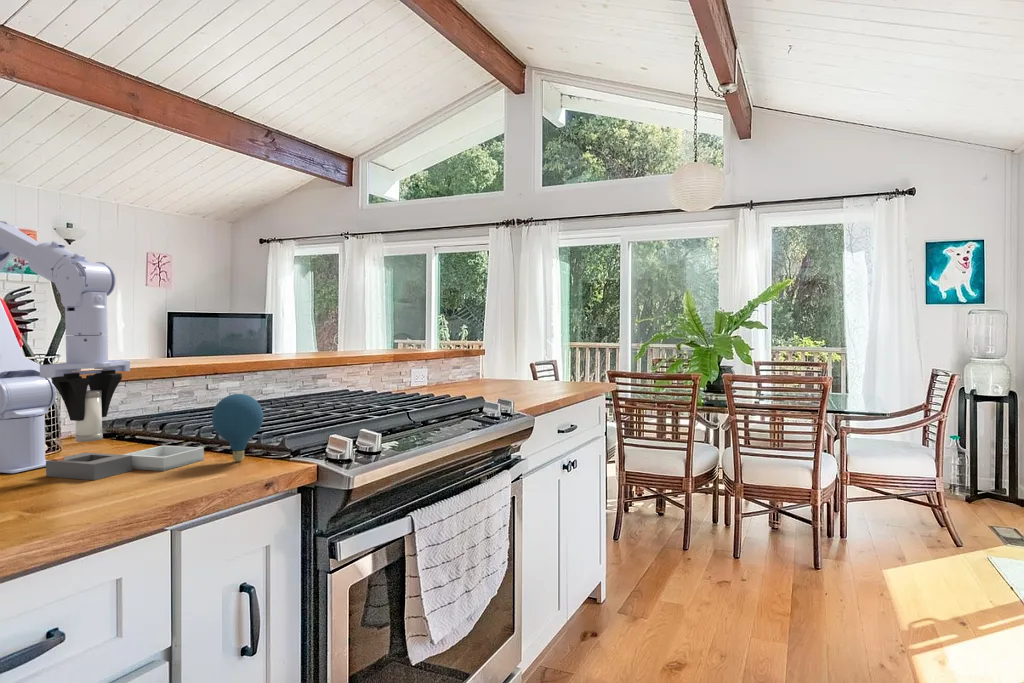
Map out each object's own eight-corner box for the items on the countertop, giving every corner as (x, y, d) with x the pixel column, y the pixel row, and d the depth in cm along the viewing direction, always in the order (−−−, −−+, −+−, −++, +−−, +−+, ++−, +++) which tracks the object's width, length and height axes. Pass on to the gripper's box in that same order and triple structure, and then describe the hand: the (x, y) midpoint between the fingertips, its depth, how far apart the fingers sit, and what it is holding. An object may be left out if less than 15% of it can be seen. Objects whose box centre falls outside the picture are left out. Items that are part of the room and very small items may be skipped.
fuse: (69, 441, 104) (68, 391, 104) (90, 437, 108) (89, 389, 107) (87, 442, 103) (86, 392, 103) (108, 438, 107) (107, 390, 106)
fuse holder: (46, 476, 104) (45, 459, 103) (86, 467, 110) (85, 450, 110) (94, 480, 101) (94, 462, 101) (132, 470, 108) (132, 453, 107)
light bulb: (245, 467, 109) (244, 396, 109) (201, 465, 111) (200, 396, 111) (273, 457, 117) (272, 391, 117) (232, 455, 119) (231, 391, 119)
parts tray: (121, 467, 109) (120, 455, 109) (163, 457, 118) (163, 445, 118) (163, 470, 107) (163, 457, 107) (203, 459, 116) (203, 447, 116)
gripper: (63, 336, 97) (65, 426, 97) (143, 334, 111) (144, 413, 111) (28, 336, 99) (30, 424, 99) (111, 334, 113) (112, 412, 113)
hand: (88, 418), depth 105 cm, fingers closed on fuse, 4 cm apart
